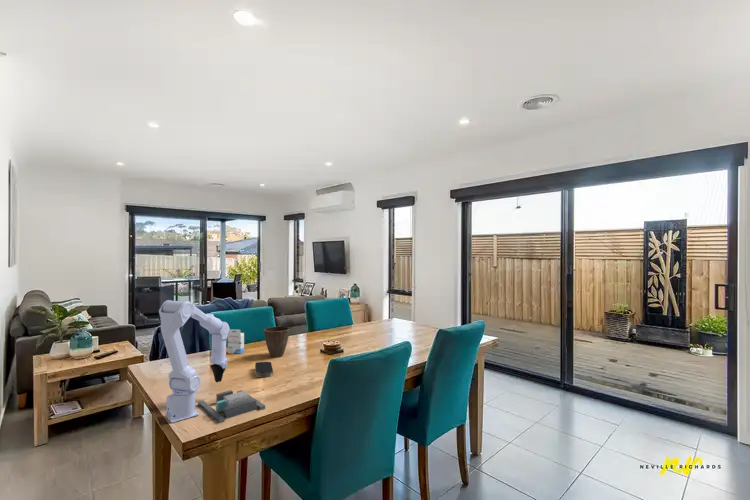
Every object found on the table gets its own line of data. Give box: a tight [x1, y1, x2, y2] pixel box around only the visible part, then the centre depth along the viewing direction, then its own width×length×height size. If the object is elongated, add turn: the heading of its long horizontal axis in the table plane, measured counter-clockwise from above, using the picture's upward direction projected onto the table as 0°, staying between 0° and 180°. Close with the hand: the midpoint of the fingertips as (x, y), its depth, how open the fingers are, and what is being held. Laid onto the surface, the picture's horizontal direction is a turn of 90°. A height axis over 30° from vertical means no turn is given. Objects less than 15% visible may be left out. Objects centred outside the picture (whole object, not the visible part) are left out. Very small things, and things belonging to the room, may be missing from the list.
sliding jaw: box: [215, 389, 234, 413], centre depth 147 cm, size 12×10×4 cm
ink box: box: [227, 328, 245, 354], centre depth 223 cm, size 8×5×15 cm, turn 85°
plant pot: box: [263, 326, 290, 358], centre depth 217 cm, size 15×15×16 cm
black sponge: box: [254, 361, 274, 378], centre depth 186 cm, size 16×8×4 cm, turn 20°
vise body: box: [197, 389, 266, 424], centre depth 145 cm, size 18×22×4 cm
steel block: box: [224, 390, 250, 408], centre depth 141 cm, size 8×5×6 cm, turn 134°
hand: (218, 381), depth 154 cm, fingers closed
